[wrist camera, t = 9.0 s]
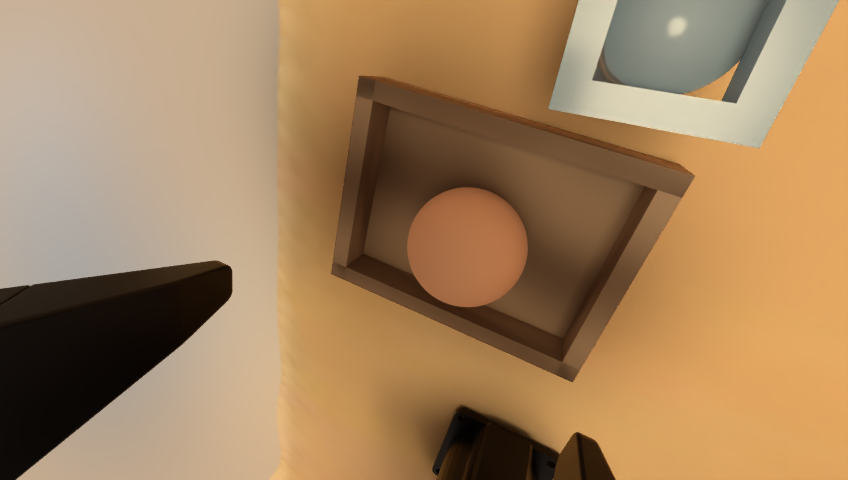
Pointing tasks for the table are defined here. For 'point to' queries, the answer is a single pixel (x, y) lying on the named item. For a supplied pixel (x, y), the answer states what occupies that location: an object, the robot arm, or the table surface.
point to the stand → (687, 62)
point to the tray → (529, 196)
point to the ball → (467, 247)
